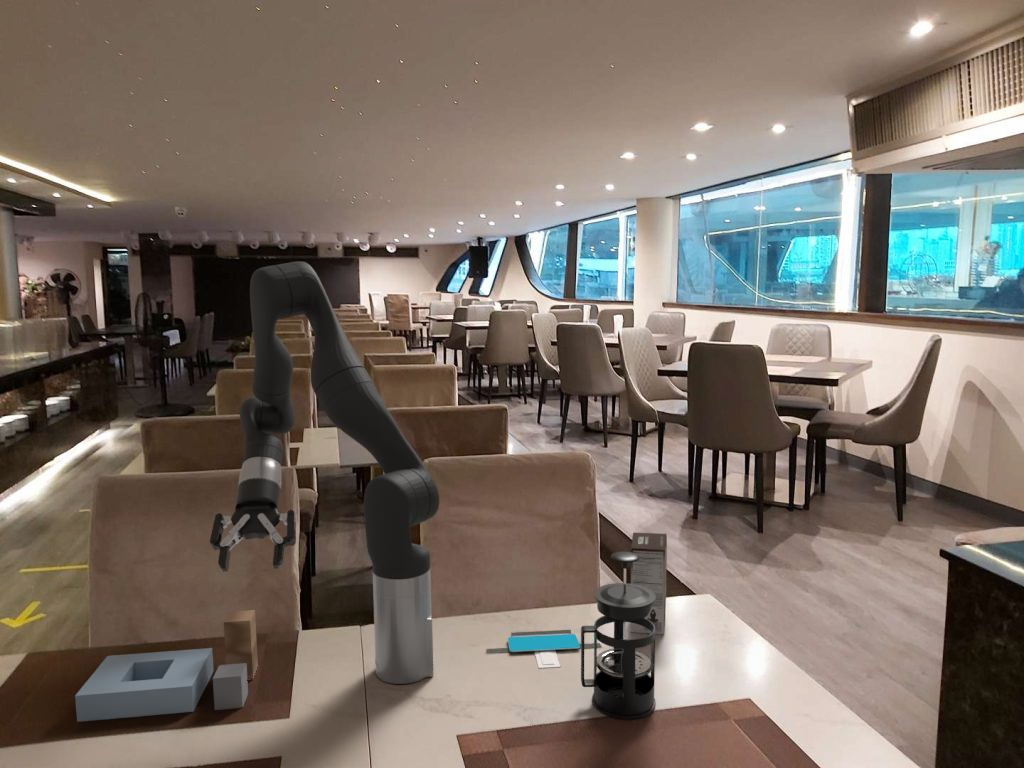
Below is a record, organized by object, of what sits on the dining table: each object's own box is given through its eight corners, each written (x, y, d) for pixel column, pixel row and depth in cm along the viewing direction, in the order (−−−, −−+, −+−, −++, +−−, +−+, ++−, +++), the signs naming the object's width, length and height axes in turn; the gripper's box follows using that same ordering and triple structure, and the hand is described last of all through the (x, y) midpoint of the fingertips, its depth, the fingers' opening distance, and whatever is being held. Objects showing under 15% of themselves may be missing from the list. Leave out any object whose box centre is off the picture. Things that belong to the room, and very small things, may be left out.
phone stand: (488, 674, 120) (488, 665, 120) (484, 640, 131) (484, 632, 131) (609, 668, 121) (609, 658, 121) (594, 635, 133) (594, 626, 133)
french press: (653, 685, 115) (655, 543, 112) (666, 719, 105) (668, 565, 103) (578, 686, 115) (578, 544, 112) (584, 720, 105) (585, 566, 103)
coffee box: (631, 611, 142) (632, 531, 140) (665, 614, 140) (666, 533, 139) (629, 632, 133) (630, 547, 131) (665, 635, 131) (667, 549, 130)
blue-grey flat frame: (213, 671, 120) (212, 647, 120) (193, 711, 109) (191, 686, 108) (109, 679, 118) (107, 655, 118) (77, 721, 106) (75, 695, 106)
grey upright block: (248, 693, 114) (246, 663, 113) (242, 707, 110) (240, 676, 109) (221, 695, 113) (219, 665, 112) (214, 710, 109) (212, 678, 108)
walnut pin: (257, 667, 121) (254, 609, 120) (253, 680, 117) (250, 620, 116) (232, 669, 121) (229, 611, 120) (227, 682, 117) (223, 622, 116)
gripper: (215, 478, 133) (202, 561, 123) (296, 474, 135) (289, 556, 125) (223, 498, 139) (211, 580, 129) (301, 495, 141) (295, 574, 131)
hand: (250, 568), depth 127 cm, fingers open, 8 cm apart
